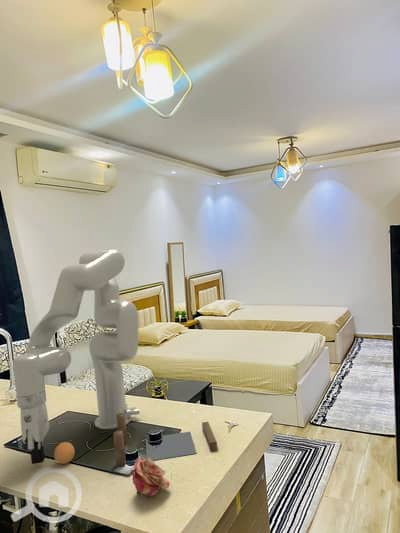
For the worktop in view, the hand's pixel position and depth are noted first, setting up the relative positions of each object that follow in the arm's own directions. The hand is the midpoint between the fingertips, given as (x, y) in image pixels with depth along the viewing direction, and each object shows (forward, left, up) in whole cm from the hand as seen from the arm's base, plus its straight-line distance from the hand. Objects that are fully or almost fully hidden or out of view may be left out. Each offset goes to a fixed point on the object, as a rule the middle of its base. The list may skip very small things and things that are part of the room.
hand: (38, 461), depth 111 cm
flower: (-31, +22, -2) cm, 38 cm away
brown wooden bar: (-49, 0, -1) cm, 49 cm away
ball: (-7, 0, +1) cm, 7 cm away
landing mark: (-37, 0, -1) cm, 37 cm away
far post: (-23, -6, -1) cm, 24 cm away
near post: (-23, +7, -1) cm, 24 cm away
